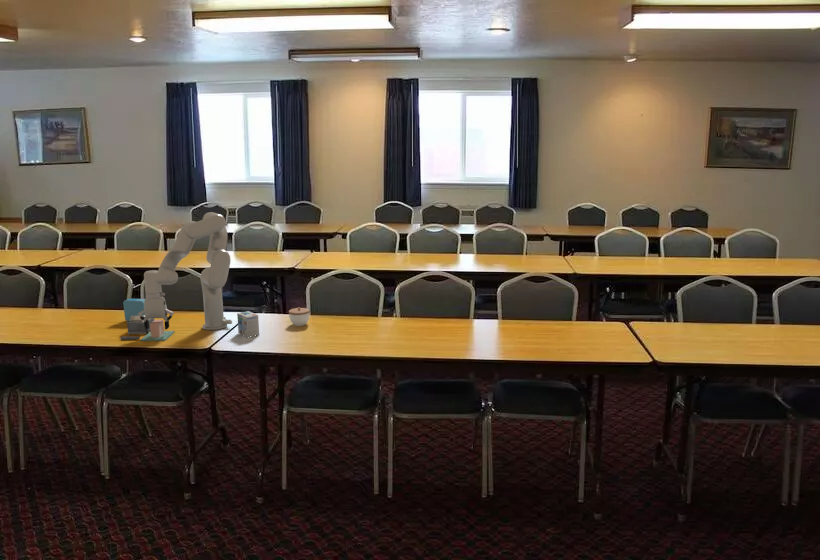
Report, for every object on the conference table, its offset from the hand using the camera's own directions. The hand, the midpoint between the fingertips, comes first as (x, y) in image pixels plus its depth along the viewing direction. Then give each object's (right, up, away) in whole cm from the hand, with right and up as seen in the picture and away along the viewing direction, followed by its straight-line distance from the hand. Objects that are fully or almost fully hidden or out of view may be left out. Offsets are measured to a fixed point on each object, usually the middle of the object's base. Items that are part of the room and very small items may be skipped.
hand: (157, 328), depth 328 cm
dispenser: (-12, -3, +6) cm, 14 cm away
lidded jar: (+68, +1, +20) cm, 71 cm away
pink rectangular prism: (0, -3, +1) cm, 3 cm away
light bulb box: (+45, -3, +3) cm, 45 cm away
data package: (-22, +2, +30) cm, 37 cm away
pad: (0, -4, +1) cm, 4 cm away
